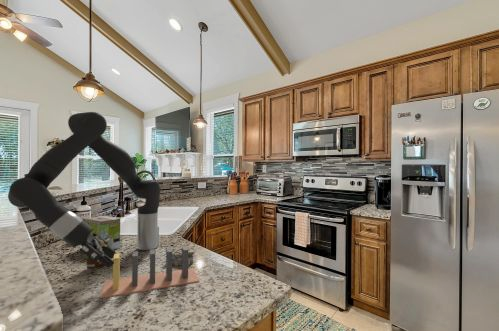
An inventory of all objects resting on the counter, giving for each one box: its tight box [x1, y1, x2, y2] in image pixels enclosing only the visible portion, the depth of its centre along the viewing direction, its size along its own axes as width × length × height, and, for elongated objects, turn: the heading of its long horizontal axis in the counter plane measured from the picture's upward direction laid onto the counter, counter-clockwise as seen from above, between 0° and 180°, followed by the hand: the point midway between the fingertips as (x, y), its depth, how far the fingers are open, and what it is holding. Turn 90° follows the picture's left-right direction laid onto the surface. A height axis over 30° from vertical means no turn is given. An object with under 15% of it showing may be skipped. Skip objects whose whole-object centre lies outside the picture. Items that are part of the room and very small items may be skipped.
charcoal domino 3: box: [165, 247, 173, 281], centre depth 90 cm, size 2×5×10 cm, turn 23°
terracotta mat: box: [99, 267, 200, 299], centre depth 87 cm, size 30×12×1 cm, turn 113°
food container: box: [85, 236, 114, 270], centre depth 103 cm, size 12×6×10 cm, turn 168°
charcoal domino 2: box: [149, 248, 156, 284], centre depth 87 cm, size 2×5×10 cm, turn 22°
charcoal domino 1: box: [131, 250, 139, 287], centre depth 85 cm, size 2×5×10 cm, turn 23°
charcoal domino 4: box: [181, 245, 189, 279], centre depth 92 cm, size 2×5×10 cm, turn 23°
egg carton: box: [165, 251, 195, 267], centre depth 105 cm, size 11×8×4 cm
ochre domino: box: [112, 252, 121, 290], centre depth 83 cm, size 2×5×10 cm, turn 23°
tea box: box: [85, 215, 121, 251], centre depth 124 cm, size 15×10×15 cm, turn 58°
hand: (113, 260), depth 83 cm, fingers open, 8 cm apart
